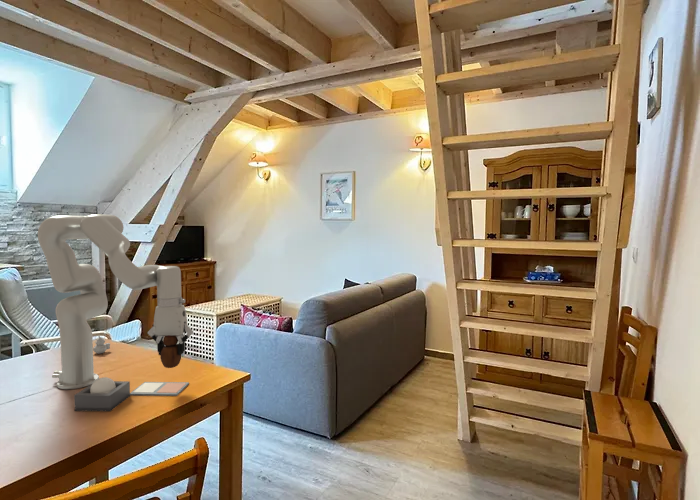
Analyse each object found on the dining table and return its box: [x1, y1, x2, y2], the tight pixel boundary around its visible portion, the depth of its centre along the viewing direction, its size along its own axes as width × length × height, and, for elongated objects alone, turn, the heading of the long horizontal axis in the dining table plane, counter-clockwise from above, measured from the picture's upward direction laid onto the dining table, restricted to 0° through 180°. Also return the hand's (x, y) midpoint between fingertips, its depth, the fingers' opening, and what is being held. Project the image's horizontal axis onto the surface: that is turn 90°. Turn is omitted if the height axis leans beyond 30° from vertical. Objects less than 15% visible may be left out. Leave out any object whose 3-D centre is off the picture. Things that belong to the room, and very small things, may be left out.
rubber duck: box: [93, 335, 111, 355], centre depth 179 cm, size 5×7×8 cm
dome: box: [90, 376, 116, 393], centre depth 130 cm, size 7×7×7 cm
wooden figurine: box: [159, 335, 183, 369], centre depth 140 cm, size 7×6×15 cm
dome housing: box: [73, 380, 131, 412], centre depth 130 cm, size 11×11×5 cm
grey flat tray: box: [130, 381, 190, 397], centre depth 141 cm, size 16×10×1 cm, turn 89°
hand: (171, 353), depth 140 cm, fingers closed on wooden figurine, 5 cm apart
